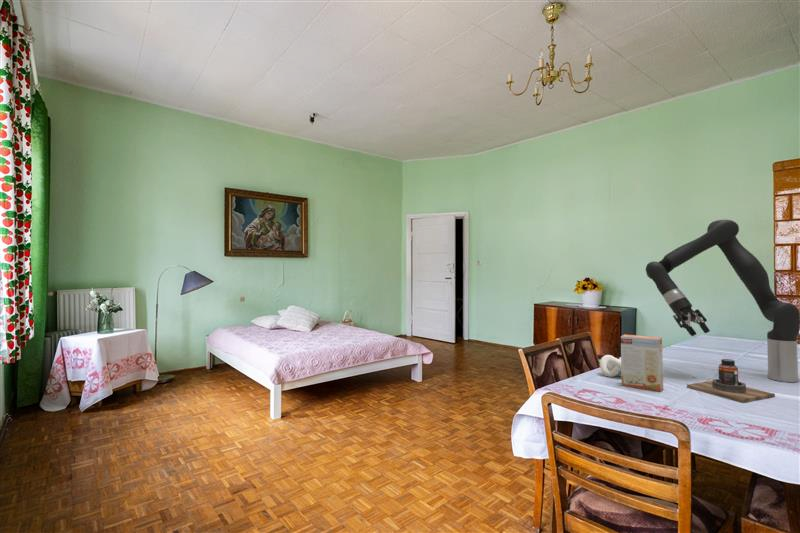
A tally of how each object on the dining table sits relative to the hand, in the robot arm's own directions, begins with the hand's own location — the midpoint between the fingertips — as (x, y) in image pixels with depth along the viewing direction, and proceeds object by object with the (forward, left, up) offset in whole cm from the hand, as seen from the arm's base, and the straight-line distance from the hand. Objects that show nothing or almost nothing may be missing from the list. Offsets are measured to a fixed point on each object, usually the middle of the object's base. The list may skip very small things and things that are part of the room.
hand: (701, 333), depth 169 cm
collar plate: (+4, +13, -21) cm, 25 cm away
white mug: (+25, -20, -21) cm, 38 cm away
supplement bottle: (+4, +13, -20) cm, 24 cm away
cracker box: (+29, -4, -21) cm, 36 cm away
